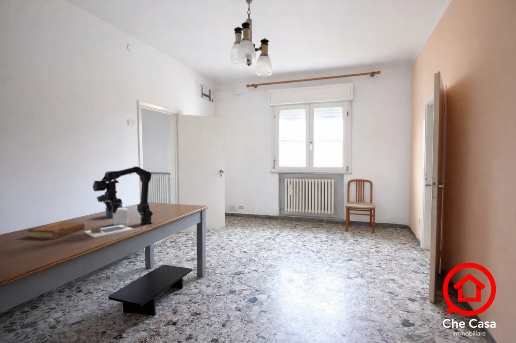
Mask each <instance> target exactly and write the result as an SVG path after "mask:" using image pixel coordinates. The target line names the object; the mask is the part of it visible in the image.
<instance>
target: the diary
mask: <svg viewBox="0 0 516 343" xmlns="http://www.w3.org/2000/svg"><path fill="white" fill-rule="evenodd" d="M83 230H85V223H84V222H78V221H77V222H70V221H69V222H67V221H66V222H65V221H58V222H55V223H50V224H46V225H42V226H40V227H34V228H31V229H27V233H29V238H30V237H34V238H33V239H45V240H46V239H48V240H56V239H59V238H62V237H65V236H69V235H71V234H74V233H77V232H80V231H83Z"/></svg>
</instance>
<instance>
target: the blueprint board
mask: <svg viewBox="0 0 516 343" xmlns="http://www.w3.org/2000/svg"><path fill="white" fill-rule="evenodd" d="M130 231H134V228H133V227H129V226H127V225H124V224H119V225H113V226H107V227H99V226H92V227H90V230H86V231H85V230H84V232H83V233H84V234H85V235H87V236H89V237H92V238H99V237H103V236H109V235H113V234H114V235H115V234H120V233H124V232H130Z"/></svg>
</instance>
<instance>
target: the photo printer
mask: <svg viewBox="0 0 516 343" xmlns="http://www.w3.org/2000/svg"><path fill="white" fill-rule="evenodd" d="M124 224H129V210H128V208H127V207H123V208H118V209H117V211H116V213H115V214H113V218H112V225H113V226H117V225H124Z"/></svg>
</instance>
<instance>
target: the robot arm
mask: <svg viewBox="0 0 516 343" xmlns="http://www.w3.org/2000/svg"><path fill="white" fill-rule="evenodd" d="M130 174H136V175H138V176H139V180H140V183H141V186H140V187H141V192H140V203H139V204H137V205H136V206H137V209H136V210H137V213H138V214H139V216H140V224H141V225H144V226H146V225H151V224H153V222H152V216H153V215H154V213H153V211H152V210H150V204H149V202H148V200H149V199H148V198H149V183H150V181H151V179H152V172H150V171H147V170H146V169H144V168H141V167H140V166H132V167H128V168H124V169H119V170H111V171H106V172H105V174H104V176H103V178H102V179H101V180H94V182H93V185H92V189H93V192H102V191H105V192H104V194H101V195H98V196H97V197H96V199H97V201H98V202H99V203H103V204H106V205H105V207H106V206H107V209H108V212H111V209H112V210H113V214H115V213H116V211H117V209H118V207H119V205H120V203H123V201H122V199H121V198H119V197H117V193H118V191H117V184H119V183H120V181H119V180H117V179H119V178H121V177H122V176H123V177H124V176H126V175H130Z"/></svg>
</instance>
